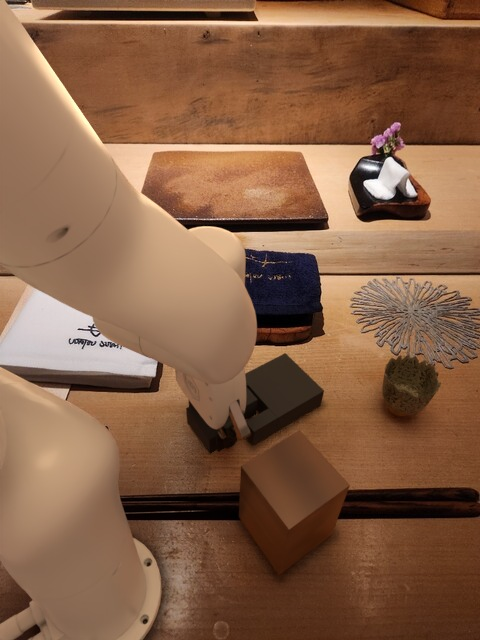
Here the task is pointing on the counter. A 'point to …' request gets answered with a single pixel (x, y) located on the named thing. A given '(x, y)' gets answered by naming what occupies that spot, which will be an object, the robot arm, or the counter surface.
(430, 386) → the cup
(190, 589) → the counter surface
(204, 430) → the small pad
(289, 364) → the base pad
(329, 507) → the block
